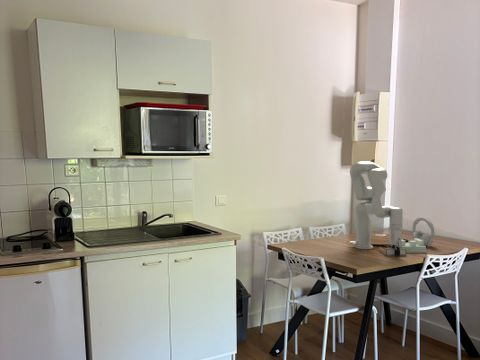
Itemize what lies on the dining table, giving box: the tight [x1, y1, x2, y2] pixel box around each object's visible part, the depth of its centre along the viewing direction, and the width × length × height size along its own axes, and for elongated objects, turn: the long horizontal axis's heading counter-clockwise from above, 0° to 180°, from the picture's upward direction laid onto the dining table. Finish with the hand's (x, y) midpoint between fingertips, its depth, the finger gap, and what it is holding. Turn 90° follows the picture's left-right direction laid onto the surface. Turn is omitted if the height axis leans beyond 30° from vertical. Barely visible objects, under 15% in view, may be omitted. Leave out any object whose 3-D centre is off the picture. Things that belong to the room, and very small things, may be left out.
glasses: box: [378, 247, 407, 257], centre depth 254 cm, size 13×13×4 cm
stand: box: [396, 238, 427, 254], centre depth 261 cm, size 12×15×7 cm
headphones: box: [411, 216, 435, 248], centre depth 275 cm, size 19×8×20 cm, turn 17°
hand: (395, 254), depth 248 cm, fingers open, 5 cm apart
